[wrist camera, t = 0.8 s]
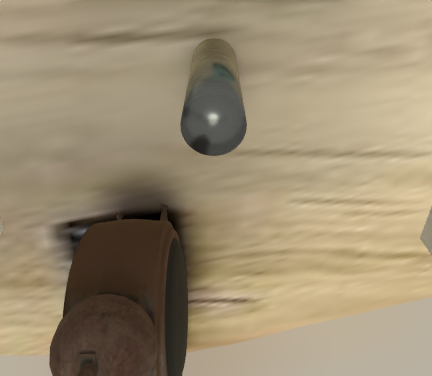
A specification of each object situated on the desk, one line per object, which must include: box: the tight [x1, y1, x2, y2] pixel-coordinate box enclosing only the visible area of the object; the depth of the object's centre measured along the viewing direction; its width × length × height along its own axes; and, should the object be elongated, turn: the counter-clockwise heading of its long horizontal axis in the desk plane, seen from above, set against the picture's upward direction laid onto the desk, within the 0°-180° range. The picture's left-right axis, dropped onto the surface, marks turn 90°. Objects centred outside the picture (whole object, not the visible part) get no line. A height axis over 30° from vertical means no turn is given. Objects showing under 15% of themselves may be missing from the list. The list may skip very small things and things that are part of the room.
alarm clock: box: [50, 205, 188, 376], centre depth 29 cm, size 15×7×20 cm, turn 2°
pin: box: [181, 39, 247, 156], centre depth 23 cm, size 3×3×12 cm
